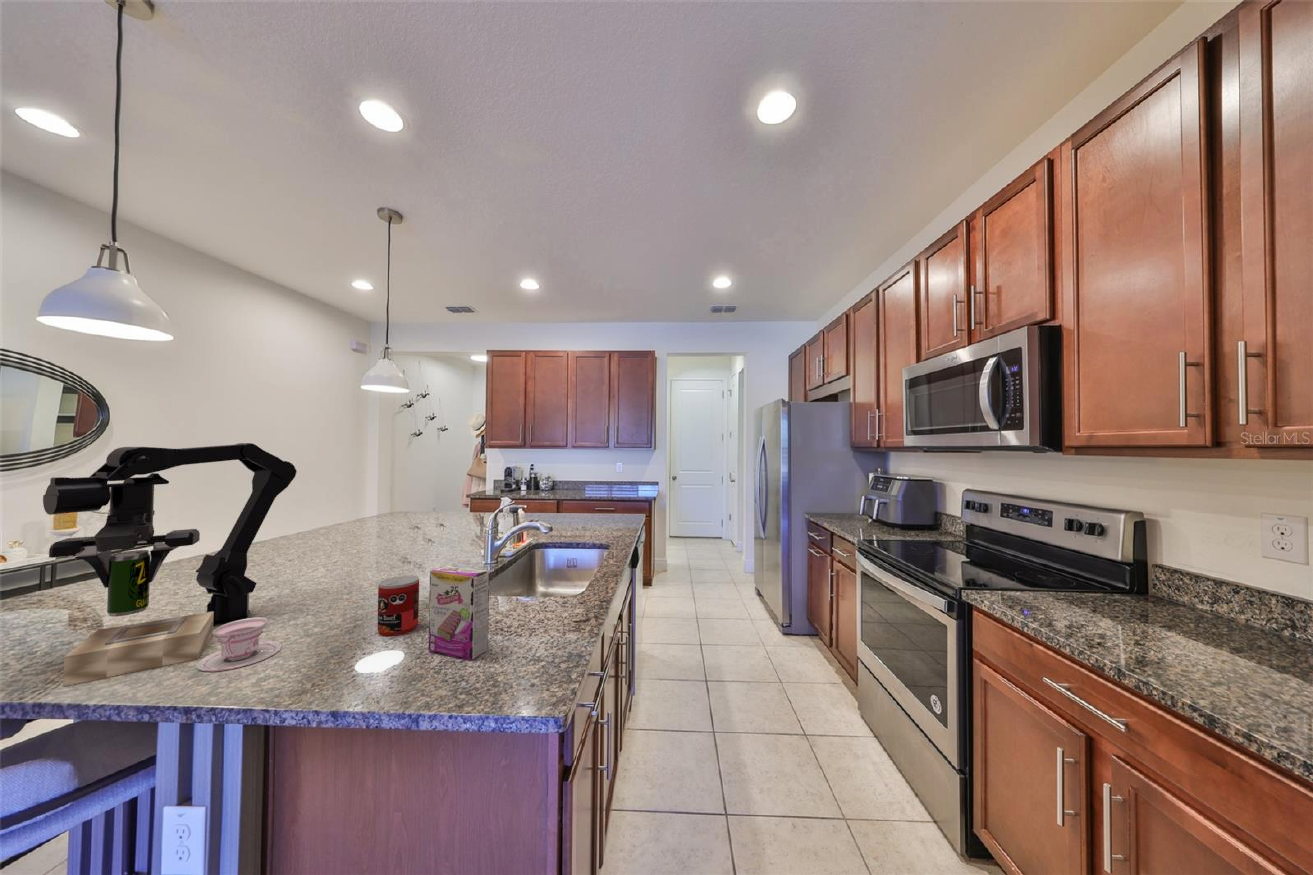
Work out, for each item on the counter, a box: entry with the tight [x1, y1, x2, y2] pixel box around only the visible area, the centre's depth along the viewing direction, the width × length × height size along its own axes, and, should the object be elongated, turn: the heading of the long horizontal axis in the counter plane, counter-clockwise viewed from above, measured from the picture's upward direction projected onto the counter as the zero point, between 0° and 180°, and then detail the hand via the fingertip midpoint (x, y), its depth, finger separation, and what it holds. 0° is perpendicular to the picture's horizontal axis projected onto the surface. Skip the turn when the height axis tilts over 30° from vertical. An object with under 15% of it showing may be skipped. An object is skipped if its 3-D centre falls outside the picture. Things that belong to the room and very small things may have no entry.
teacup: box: [196, 616, 283, 673], centre depth 84 cm, size 12×12×6 cm
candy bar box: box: [428, 564, 490, 661], centre depth 87 cm, size 11×5×16 cm, turn 71°
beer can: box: [106, 549, 151, 618], centre depth 88 cm, size 5×5×12 cm
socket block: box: [62, 611, 214, 687], centre depth 84 cm, size 16×14×5 cm
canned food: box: [377, 575, 420, 637], centre depth 97 cm, size 8×8×11 cm
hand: (129, 584), depth 88 cm, fingers closed on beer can, 5 cm apart
